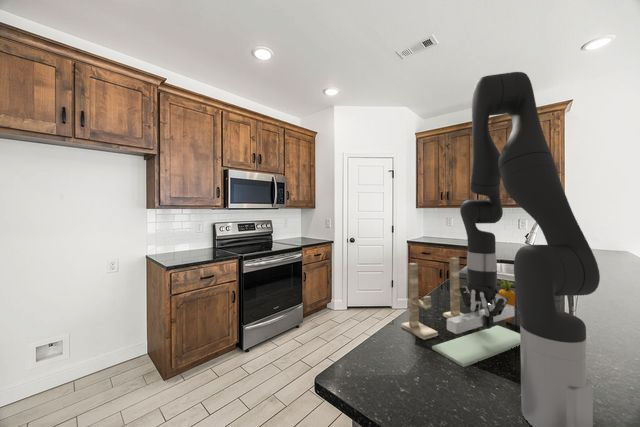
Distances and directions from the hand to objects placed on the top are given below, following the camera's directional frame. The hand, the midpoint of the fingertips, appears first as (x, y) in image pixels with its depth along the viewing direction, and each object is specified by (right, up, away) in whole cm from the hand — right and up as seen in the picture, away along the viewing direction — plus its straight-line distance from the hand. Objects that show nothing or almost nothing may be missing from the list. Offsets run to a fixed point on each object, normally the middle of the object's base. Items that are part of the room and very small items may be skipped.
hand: (482, 325), depth 78 cm
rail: (0, +1, 0) cm, 1 cm away
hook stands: (-6, -6, +13) cm, 15 cm away
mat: (0, -6, 0) cm, 6 cm away
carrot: (+18, -5, +15) cm, 24 cm away
